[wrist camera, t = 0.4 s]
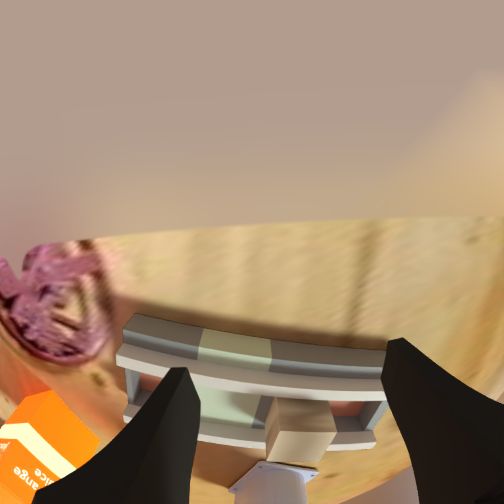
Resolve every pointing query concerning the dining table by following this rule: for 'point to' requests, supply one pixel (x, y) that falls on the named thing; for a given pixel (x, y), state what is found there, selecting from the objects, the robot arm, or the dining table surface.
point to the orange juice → (40, 447)
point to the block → (298, 430)
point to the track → (253, 379)
